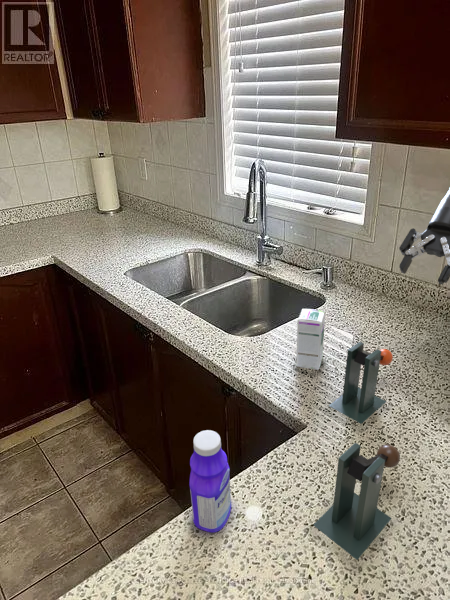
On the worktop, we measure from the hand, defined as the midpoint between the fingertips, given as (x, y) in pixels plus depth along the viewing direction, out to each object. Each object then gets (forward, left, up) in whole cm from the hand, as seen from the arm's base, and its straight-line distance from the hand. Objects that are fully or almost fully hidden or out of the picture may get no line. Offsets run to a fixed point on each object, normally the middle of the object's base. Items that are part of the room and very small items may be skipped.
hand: (420, 277), depth 98 cm
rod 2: (+1, +45, -15) cm, 47 cm away
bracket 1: (+7, +19, -24) cm, 32 cm away
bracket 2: (+2, +48, -24) cm, 54 cm away
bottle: (+23, +56, -24) cm, 66 cm away
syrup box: (+21, +8, -24) cm, 34 cm away
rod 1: (+6, +16, -15) cm, 23 cm away
